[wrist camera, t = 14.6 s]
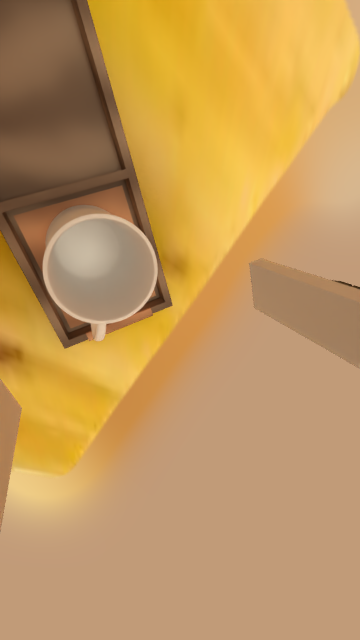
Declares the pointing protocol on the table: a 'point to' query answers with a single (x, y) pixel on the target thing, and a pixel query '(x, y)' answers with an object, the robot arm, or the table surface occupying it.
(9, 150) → the rack
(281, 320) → the robot arm
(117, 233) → the mug
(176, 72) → the table surface
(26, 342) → the table surface
